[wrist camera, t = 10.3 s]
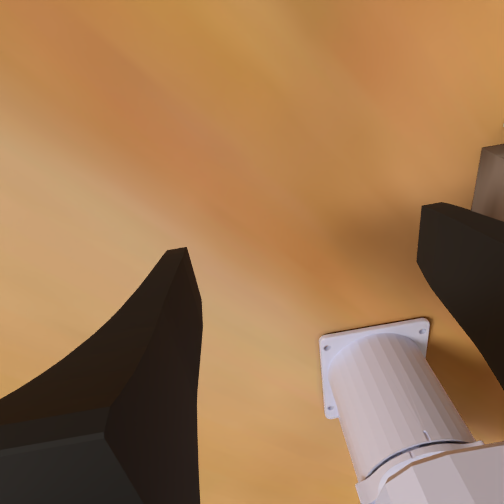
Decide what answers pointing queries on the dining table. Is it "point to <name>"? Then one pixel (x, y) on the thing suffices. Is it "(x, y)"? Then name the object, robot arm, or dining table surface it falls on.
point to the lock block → (490, 183)
